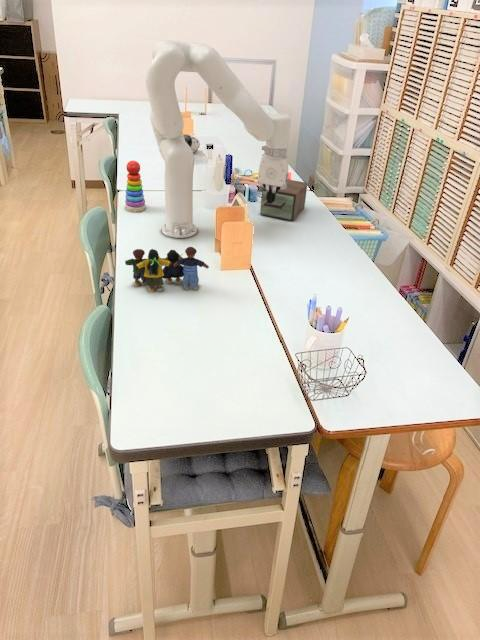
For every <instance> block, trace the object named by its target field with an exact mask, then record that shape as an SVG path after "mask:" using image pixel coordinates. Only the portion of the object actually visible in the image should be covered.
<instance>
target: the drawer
mask: <svg viewBox="0 0 480 640" xmlns="http://www.w3.org/2000/svg"><path fill="white" fill-rule="evenodd" d="M266 196H267V192H266V191H263V192H262V191H261V198H262V204H261V203H260V211H261V214H265V215H270V216H275V217H280V218H285V219H290V220H291V219H292V213H293V204H294V196H290V195H283V194H278V193H276V197H275V201H274V202H273V203H272V204H270V203H267V200H266ZM265 215H264V216H265ZM270 216H269V217H270ZM275 217H274V218H275ZM280 218H279V219H280ZM285 219H284V220H285ZM290 220H289V221H290Z"/></svg>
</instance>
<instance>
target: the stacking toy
mask: <svg viewBox="0 0 480 640" xmlns="http://www.w3.org/2000/svg"><path fill="white" fill-rule="evenodd" d="M125 169H126V171H127V172H128V173H127V175H126V179H127V180H126V190H125V201H124V202H125V204H124V208H125V210H127V211H128V212H131V213H138V212H142V211H144V210H145V209H146V207H147V206H146V200H145V195H144V189H143V184H142V182H143V180H142V179H141V174H140V171H141V165H140V163H139V162H138V161H137V160H130V161H128V162H127V164H126V168H125Z"/></svg>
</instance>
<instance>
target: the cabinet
mask: <svg viewBox="0 0 480 640" xmlns="http://www.w3.org/2000/svg"><path fill="white" fill-rule="evenodd" d="M286 184H287V188H286V189H282V190H281V189H280V190H278V191H277V192H276V193H279V194H285V195H290V196H294V204H293V213H292V219H291V220H290V219H285V218H280V217H275V216H270V215H265V214H261V210H259V211H260V215H261V216H265V217H271V218H276V219H280V220H281V219H282V220H286V221H289V222H294V221H295V220H296V218H297V217H299V215H300V214H301V213H302V211H303V210H304V209H305V206H306V198H307V189H308V182H306V181H305V182H304V181H301V180H294V179H288V180H287V183H286ZM271 189H272V190H273V186H272V185H271ZM263 191H266V189H265V188H264V187H263V186H262V188H261V193H262V192H263ZM261 204H262V197H261V200H260V205H261Z"/></svg>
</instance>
